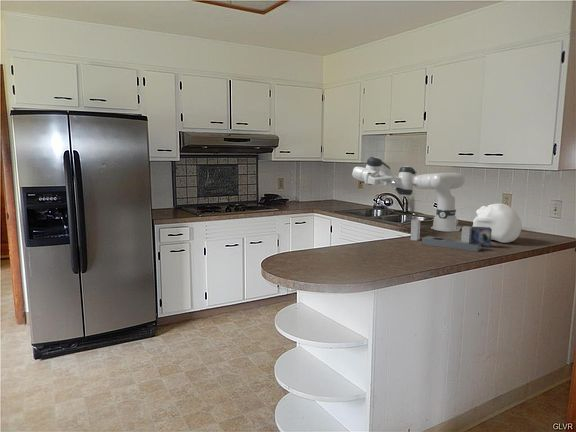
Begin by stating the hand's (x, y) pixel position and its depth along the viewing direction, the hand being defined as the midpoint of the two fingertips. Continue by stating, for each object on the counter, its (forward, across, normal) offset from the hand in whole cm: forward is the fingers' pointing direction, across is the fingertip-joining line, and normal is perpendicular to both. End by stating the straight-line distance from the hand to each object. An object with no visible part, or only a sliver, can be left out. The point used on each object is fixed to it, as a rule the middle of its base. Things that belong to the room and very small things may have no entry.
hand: (391, 183), depth 257 cm
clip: (+24, 0, -29) cm, 38 cm away
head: (+56, -33, -24) cm, 69 cm away
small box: (+57, -11, -23) cm, 62 cm away
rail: (+47, +2, -24) cm, 53 cm away
